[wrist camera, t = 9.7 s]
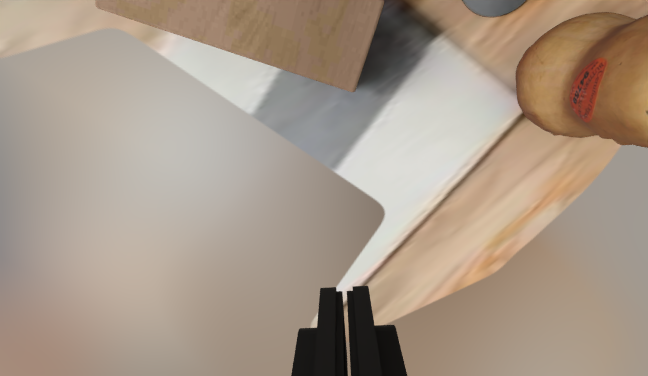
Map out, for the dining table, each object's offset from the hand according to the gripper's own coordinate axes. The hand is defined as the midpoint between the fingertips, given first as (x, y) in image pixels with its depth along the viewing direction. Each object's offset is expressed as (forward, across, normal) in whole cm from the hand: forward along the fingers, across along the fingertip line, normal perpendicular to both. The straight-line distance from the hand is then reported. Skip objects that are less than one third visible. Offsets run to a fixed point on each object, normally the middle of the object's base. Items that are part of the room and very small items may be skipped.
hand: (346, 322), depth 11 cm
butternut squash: (+39, -29, -7) cm, 49 cm away
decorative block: (+34, -4, -12) cm, 36 cm away
